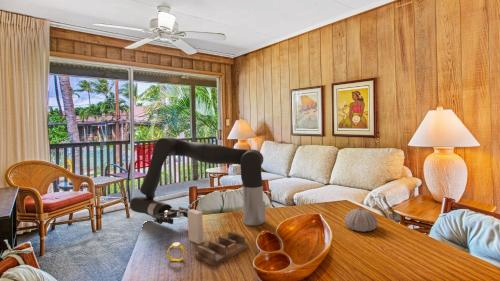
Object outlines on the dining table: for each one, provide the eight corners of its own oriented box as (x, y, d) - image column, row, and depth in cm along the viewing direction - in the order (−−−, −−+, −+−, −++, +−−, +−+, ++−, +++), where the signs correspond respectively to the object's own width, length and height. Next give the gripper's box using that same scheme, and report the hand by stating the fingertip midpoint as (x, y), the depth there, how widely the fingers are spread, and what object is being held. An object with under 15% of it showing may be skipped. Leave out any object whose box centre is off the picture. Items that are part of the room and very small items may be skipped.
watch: (166, 263, 93) (165, 246, 92) (168, 258, 96) (168, 242, 95) (184, 262, 93) (183, 245, 92) (186, 258, 96) (185, 241, 95)
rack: (195, 257, 96) (194, 246, 96) (229, 239, 109) (228, 230, 109) (214, 266, 90) (214, 255, 89) (248, 247, 103) (248, 236, 102)
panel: (188, 239, 110) (187, 210, 109) (193, 237, 112) (192, 208, 111) (198, 244, 106) (197, 213, 105) (203, 241, 108) (202, 211, 107)
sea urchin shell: (343, 231, 114) (343, 212, 114) (345, 220, 127) (345, 203, 126) (378, 236, 109) (378, 216, 109) (376, 223, 122) (377, 206, 121)
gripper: (144, 206, 119) (166, 214, 109) (173, 198, 130) (194, 205, 119) (145, 223, 120) (167, 233, 109) (173, 214, 131) (195, 221, 120)
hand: (181, 218), depth 114 cm, fingers open, 8 cm apart
